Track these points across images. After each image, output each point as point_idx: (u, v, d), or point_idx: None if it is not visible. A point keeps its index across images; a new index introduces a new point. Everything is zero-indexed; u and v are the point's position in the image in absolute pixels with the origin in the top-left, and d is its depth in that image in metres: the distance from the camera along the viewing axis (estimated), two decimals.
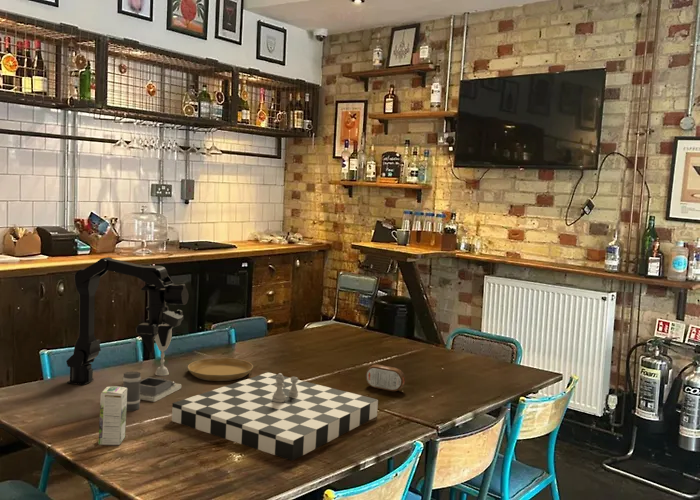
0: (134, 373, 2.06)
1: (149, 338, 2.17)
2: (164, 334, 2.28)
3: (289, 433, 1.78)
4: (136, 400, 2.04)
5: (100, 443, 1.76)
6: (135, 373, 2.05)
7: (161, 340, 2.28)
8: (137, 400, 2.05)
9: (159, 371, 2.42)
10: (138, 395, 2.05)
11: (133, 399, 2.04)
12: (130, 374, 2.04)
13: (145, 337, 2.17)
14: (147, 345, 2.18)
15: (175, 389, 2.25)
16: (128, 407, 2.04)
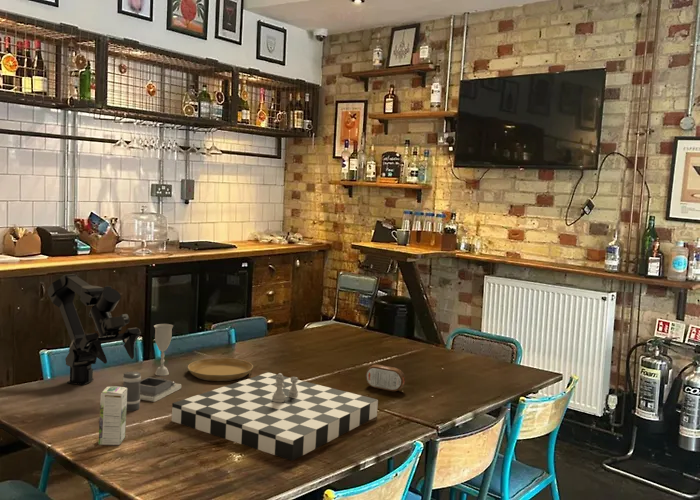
0: (134, 373, 2.06)
1: (97, 349, 2.08)
2: (129, 346, 2.15)
3: (289, 433, 1.78)
4: (136, 400, 2.04)
5: (100, 443, 1.76)
6: (135, 373, 2.05)
7: (129, 354, 2.15)
8: (137, 400, 2.05)
9: (159, 371, 2.42)
10: (138, 395, 2.05)
11: (133, 399, 2.04)
12: (130, 374, 2.04)
13: (94, 351, 2.09)
14: (99, 357, 2.08)
15: (175, 389, 2.25)
16: (128, 407, 2.04)
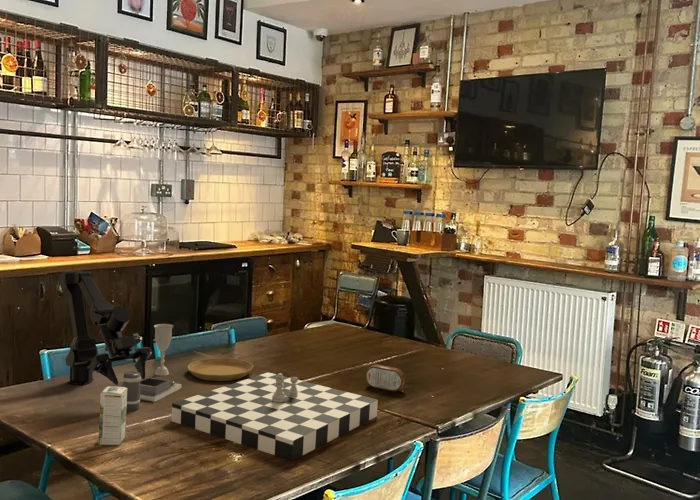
0: (134, 373, 2.06)
1: (108, 370, 2.03)
2: (140, 366, 2.11)
3: (289, 433, 1.78)
4: (136, 400, 2.04)
5: (100, 443, 1.76)
6: (135, 373, 2.05)
7: None
8: (137, 400, 2.05)
9: (159, 371, 2.42)
10: (138, 395, 2.05)
11: (133, 399, 2.04)
12: (130, 374, 2.04)
13: (105, 372, 2.04)
14: (110, 378, 2.03)
15: (175, 389, 2.25)
16: (128, 407, 2.04)
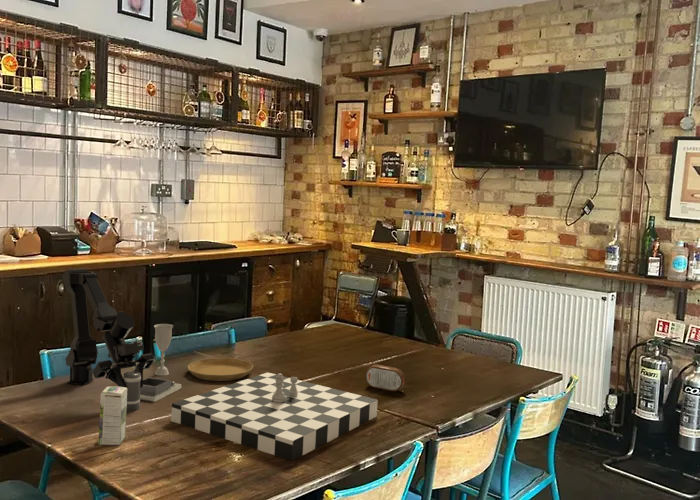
0: (134, 373, 2.06)
1: (117, 376, 2.04)
2: None
3: (289, 433, 1.78)
4: (136, 400, 2.04)
5: (100, 443, 1.76)
6: (135, 373, 2.05)
7: None
8: (137, 400, 2.05)
9: (159, 371, 2.42)
10: (138, 395, 2.05)
11: (133, 399, 2.04)
12: (130, 374, 2.04)
13: (114, 378, 2.04)
14: (119, 384, 2.03)
15: (175, 389, 2.25)
16: (128, 407, 2.03)
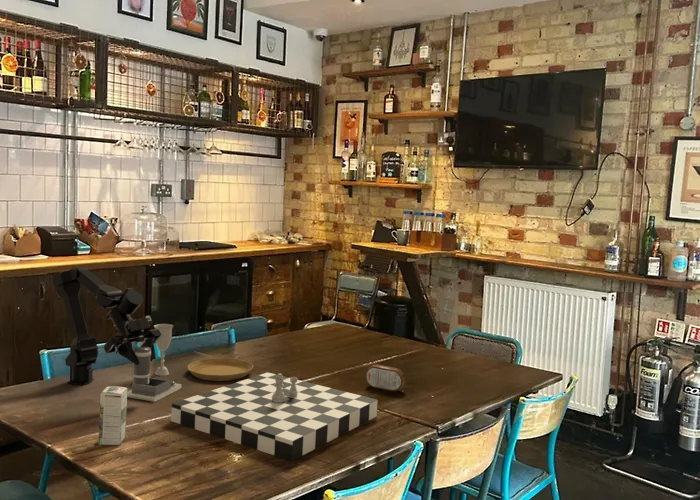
0: (144, 348, 2.10)
1: (128, 351, 2.08)
2: None
3: (289, 433, 1.78)
4: (147, 374, 2.09)
5: (100, 443, 1.76)
6: (146, 348, 2.10)
7: None
8: (148, 374, 2.10)
9: (159, 371, 2.42)
10: (149, 369, 2.10)
11: (144, 373, 2.09)
12: (141, 349, 2.08)
13: (124, 353, 2.08)
14: (130, 359, 2.08)
15: (175, 389, 2.25)
16: (140, 381, 2.08)
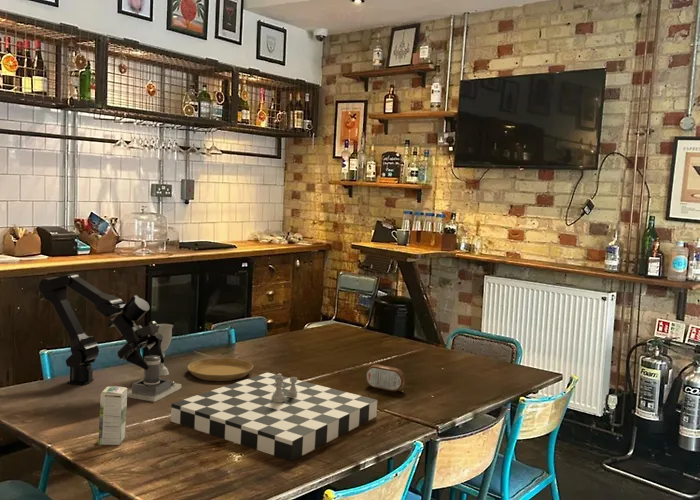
0: (154, 356, 2.20)
1: (136, 357, 2.15)
2: (157, 352, 2.25)
3: (288, 433, 1.78)
4: (158, 381, 2.20)
5: (100, 443, 1.76)
6: (155, 356, 2.20)
7: None
8: (159, 381, 2.20)
9: None
10: (159, 376, 2.21)
11: (156, 380, 2.19)
12: (152, 358, 2.19)
13: (133, 359, 2.15)
14: (139, 365, 2.15)
15: (175, 389, 2.25)
16: None
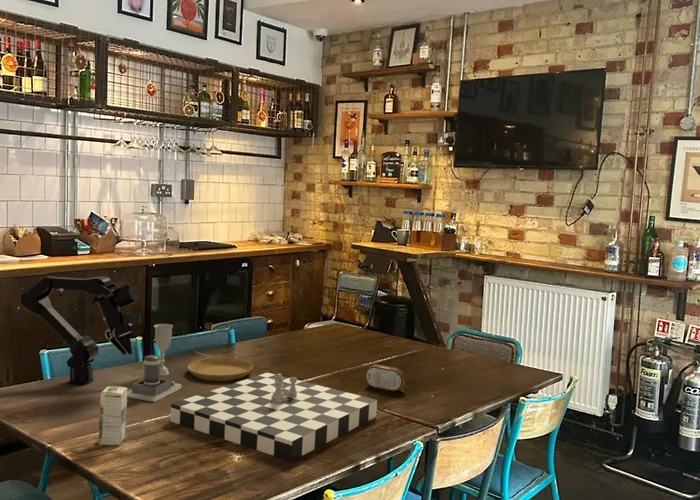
0: (154, 356, 2.20)
1: (126, 339, 2.21)
2: None
3: (288, 434, 1.78)
4: (158, 381, 2.20)
5: (100, 443, 1.76)
6: (155, 356, 2.20)
7: (121, 349, 2.30)
8: (159, 381, 2.20)
9: None
10: (159, 376, 2.21)
11: (156, 380, 2.19)
12: (152, 358, 2.19)
13: (122, 340, 2.20)
14: (125, 347, 2.21)
15: (175, 389, 2.25)
16: None
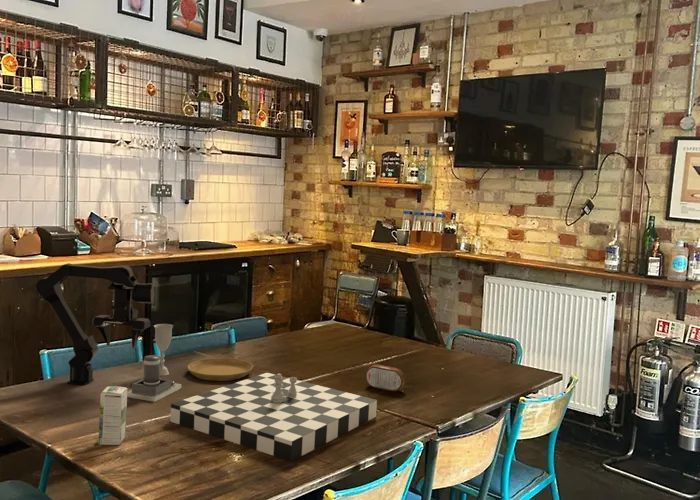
0: (153, 356, 2.20)
1: (137, 333, 2.28)
2: (108, 333, 2.30)
3: (288, 434, 1.78)
4: (158, 381, 2.20)
5: (100, 443, 1.76)
6: (155, 356, 2.20)
7: (108, 339, 2.29)
8: (159, 381, 2.20)
9: None
10: (159, 376, 2.21)
11: (156, 380, 2.19)
12: (152, 358, 2.19)
13: None
14: (135, 340, 2.28)
15: (175, 389, 2.25)
16: None
